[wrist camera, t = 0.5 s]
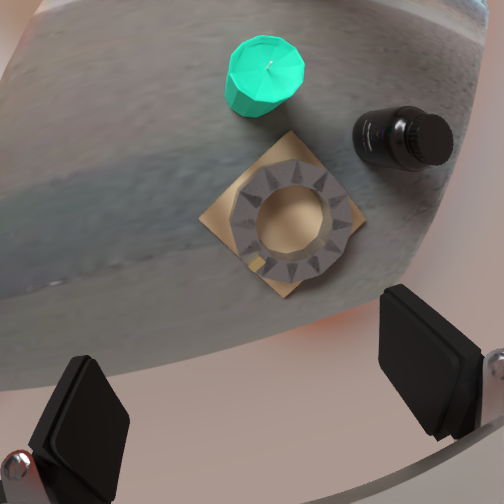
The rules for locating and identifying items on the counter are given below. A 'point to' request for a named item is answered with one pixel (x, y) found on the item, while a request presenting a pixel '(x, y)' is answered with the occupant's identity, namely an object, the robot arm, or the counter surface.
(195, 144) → the counter surface
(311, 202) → the oak board
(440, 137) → the supplement bottle
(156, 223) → the counter surface
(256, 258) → the steel collar
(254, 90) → the candle
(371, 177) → the counter surface
